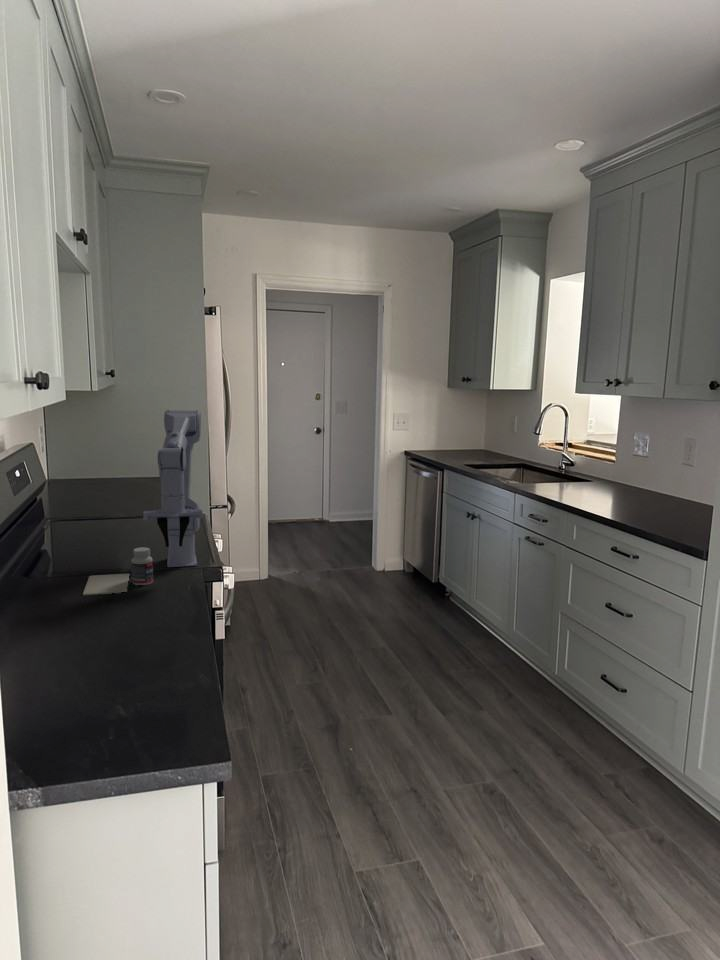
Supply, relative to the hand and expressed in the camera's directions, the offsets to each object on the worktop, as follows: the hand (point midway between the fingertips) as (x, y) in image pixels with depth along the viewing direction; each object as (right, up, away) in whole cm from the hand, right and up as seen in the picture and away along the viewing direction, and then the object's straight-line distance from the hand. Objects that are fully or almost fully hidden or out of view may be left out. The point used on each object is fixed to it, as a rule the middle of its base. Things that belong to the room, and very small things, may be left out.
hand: (174, 545), depth 168 cm
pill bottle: (-8, -10, 0) cm, 12 cm away
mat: (-16, -10, -3) cm, 19 cm away
